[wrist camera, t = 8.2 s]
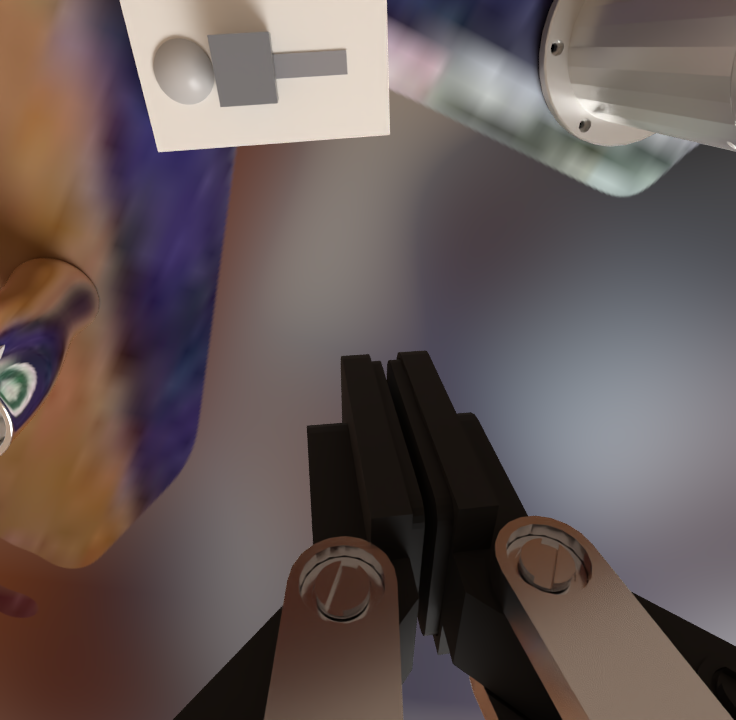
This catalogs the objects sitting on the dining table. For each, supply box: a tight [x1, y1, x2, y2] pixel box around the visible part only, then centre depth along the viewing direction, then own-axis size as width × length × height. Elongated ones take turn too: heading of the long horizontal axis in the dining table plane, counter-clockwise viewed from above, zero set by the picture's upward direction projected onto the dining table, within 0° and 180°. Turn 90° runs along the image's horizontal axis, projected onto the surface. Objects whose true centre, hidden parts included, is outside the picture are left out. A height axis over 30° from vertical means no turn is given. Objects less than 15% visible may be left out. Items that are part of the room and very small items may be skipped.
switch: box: [207, 32, 279, 107], centre depth 27 cm, size 3×3×3 cm
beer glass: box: [0, 258, 99, 455], centre depth 31 cm, size 7×7×15 cm
